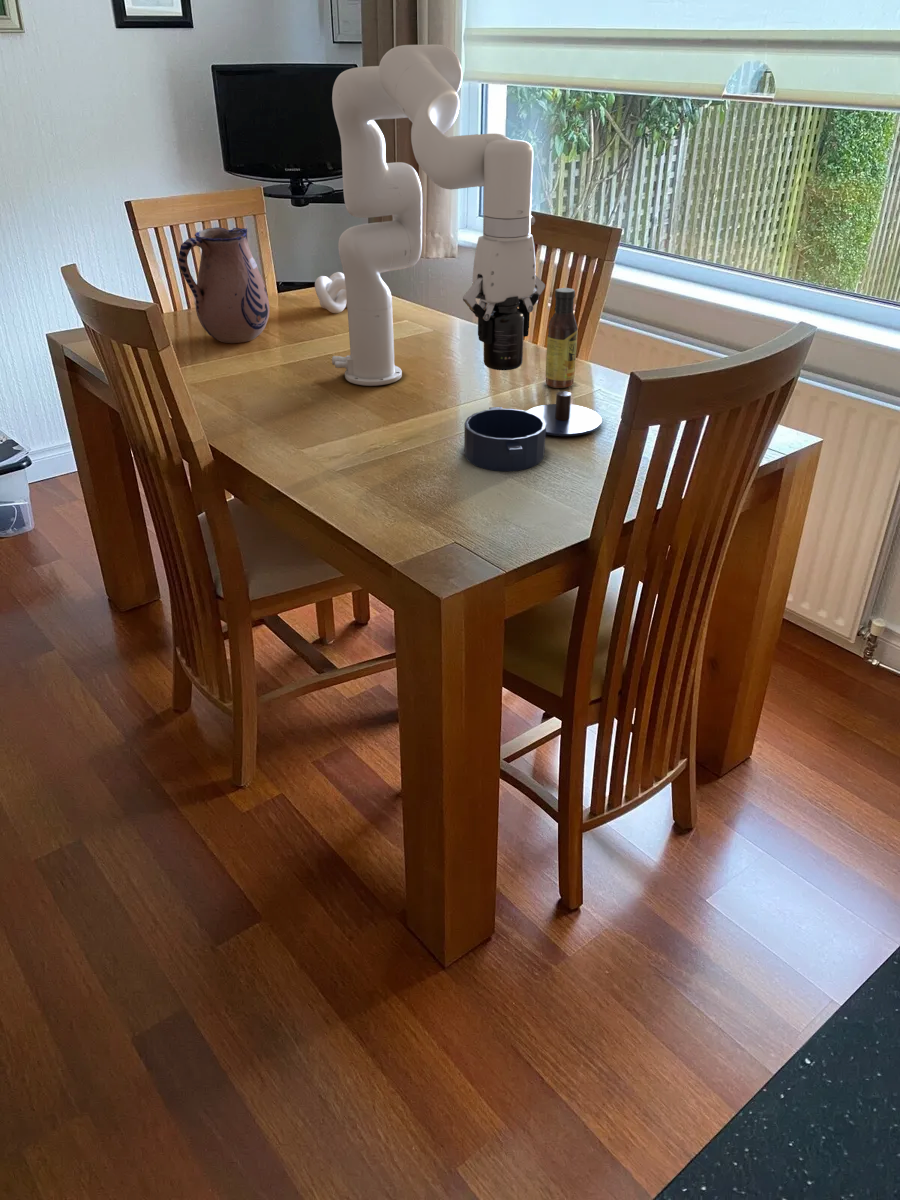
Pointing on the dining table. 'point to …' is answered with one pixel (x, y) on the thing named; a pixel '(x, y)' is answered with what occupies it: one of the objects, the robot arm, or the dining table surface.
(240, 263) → the ceramic pitcher
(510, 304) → the supplement bottle
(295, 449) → the dining table surface
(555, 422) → the pan lid
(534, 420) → the pan
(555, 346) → the sauce bottle
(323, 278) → the white knot sculpture
